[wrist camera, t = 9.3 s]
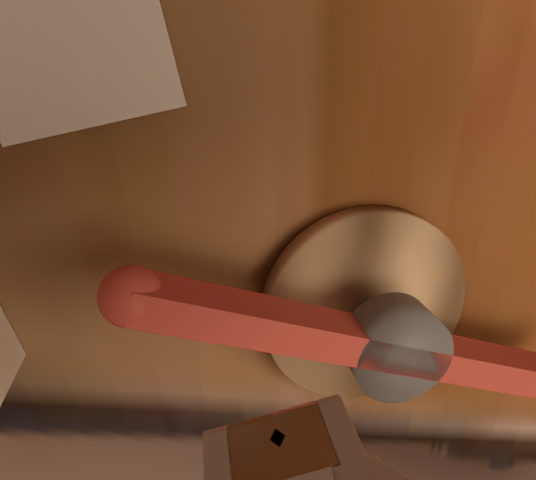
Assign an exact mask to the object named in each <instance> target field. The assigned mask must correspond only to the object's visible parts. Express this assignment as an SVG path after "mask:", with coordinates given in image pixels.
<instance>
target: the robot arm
mask: <svg viewBox="0 0 536 480" xmlns="http://www.w3.org/2000/svg"><path fill="white" fill-rule="evenodd" d="M203 461H204V480H410V479H409V478H407V477H406V476H404V475H403V474H401V473H399V472H398V471H397V470H395V469H394V468H392V467H391V466H389V465H388V464H386V463H385V462H383V461H382V460H381V459H379V458H378V457H376V456H375V455H374V456H370V457H367V455H366V453H365V450H364V448H363V446H362V444H361V441H360V439H359V437H358V435H357V432H356V430H355V428H354V426H353V423H352V421H351V419H350V417H349V414H348V412H347V410H346V408H345V405H344V403H343V401H342V399H341V397H340V396H339V395H338V394H337V395H333V396H330V397H326V398H323V399H319V400H316V401H312V402H308V403H305V404H301V405H298V406H294V407H291V408H287V409H284V410H281V411H277V412H274V413H272V414H268V415H264V416H260V417H256V418H252V419H248V420H244V421H240V422H236V423H232V424H228V425H226V426H222V427H218V428H214V429H210V430H206V431H204V434H203Z"/></svg>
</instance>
